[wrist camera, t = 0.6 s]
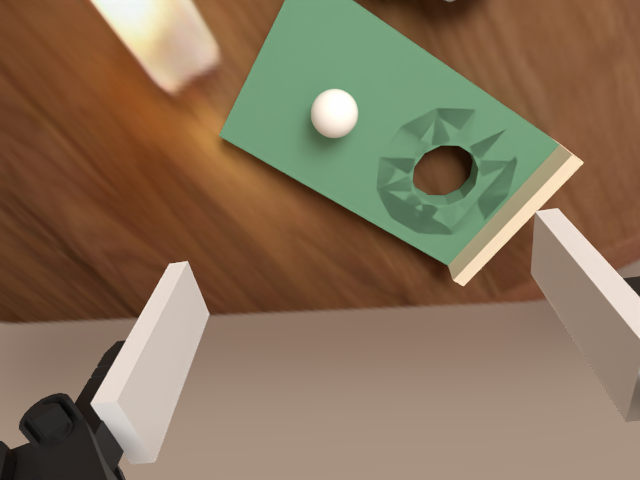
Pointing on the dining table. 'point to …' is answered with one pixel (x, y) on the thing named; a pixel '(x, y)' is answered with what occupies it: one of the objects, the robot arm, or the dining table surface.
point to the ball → (334, 113)
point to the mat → (393, 133)
